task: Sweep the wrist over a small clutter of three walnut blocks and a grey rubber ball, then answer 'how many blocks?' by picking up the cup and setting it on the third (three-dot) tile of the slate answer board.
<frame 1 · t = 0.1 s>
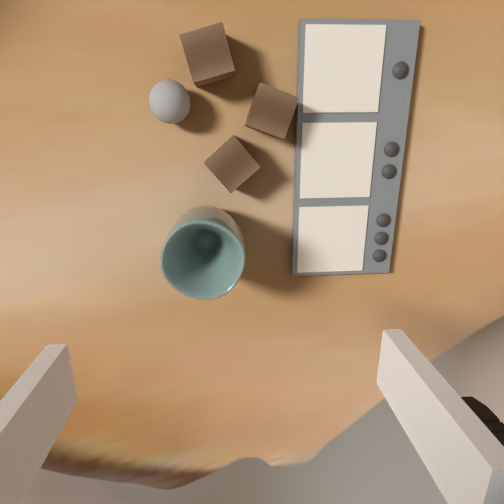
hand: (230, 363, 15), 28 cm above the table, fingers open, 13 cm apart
walnut block c: (231, 161, 40), on the table
cup: (208, 231, 42), on the table
grey ball: (172, 103, 37), on the table
answer board: (347, 160, 40), on the table
walnut block a: (209, 60, 36), on the table
walnut block b: (268, 113, 38), on the table
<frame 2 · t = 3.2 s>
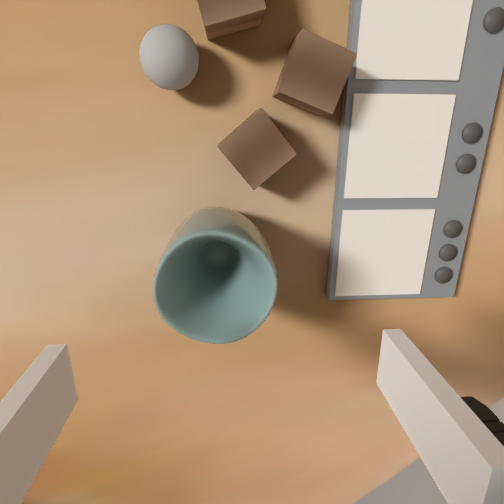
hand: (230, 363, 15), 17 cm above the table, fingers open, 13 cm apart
walnut block c: (253, 147, 29), on the table
cup: (219, 241, 32), on the table
grey ball: (173, 63, 27), on the table
answer board: (409, 147, 30), on the table
walnut block a: (226, 1, 26), on the table
walnut block b: (305, 80, 28), on the table
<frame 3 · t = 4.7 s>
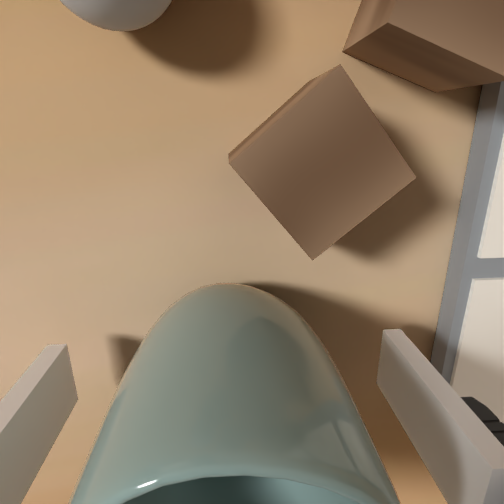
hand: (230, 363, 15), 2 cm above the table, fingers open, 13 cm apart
walnut block c: (299, 159, 14), on the table
cup: (229, 334, 17), on the table
walnut block b: (413, 15, 13), on the table
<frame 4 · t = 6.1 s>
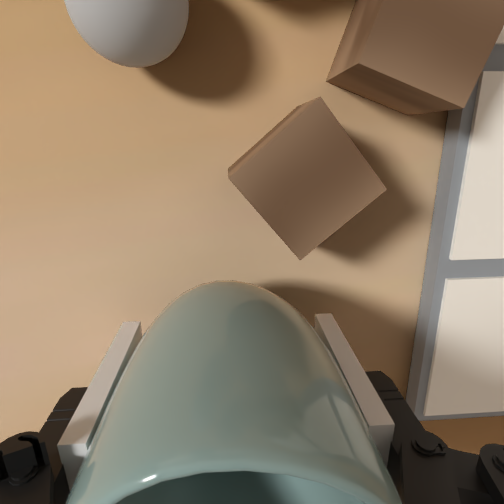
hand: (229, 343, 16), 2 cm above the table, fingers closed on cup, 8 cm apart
walnut block c: (289, 173, 16), on the table
cup: (229, 332, 17), point 1 cm above the table, touching gripper
grey ball: (142, 19, 14), on the table
walnut block b: (386, 50, 15), on the table
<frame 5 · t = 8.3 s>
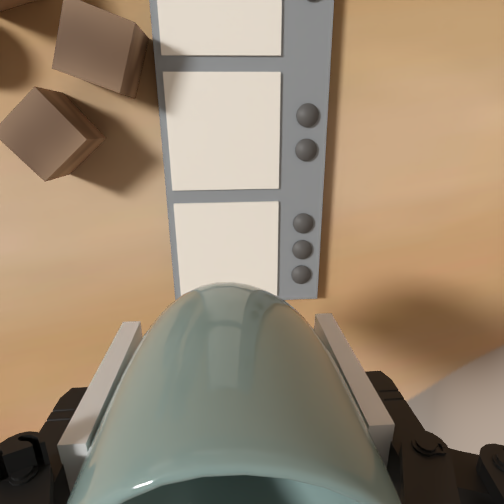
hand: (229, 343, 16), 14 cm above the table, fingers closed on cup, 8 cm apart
walnut block c: (66, 134, 26), on the table
cup: (229, 333, 17), point 14 cm above the table, touching gripper
answer board: (244, 133, 27), on the table
walnut block b: (113, 58, 25), on the table
when the fingers open (3 cm above the table, at t = 10.6 s): cup drops 1 cm, resting on answer board.
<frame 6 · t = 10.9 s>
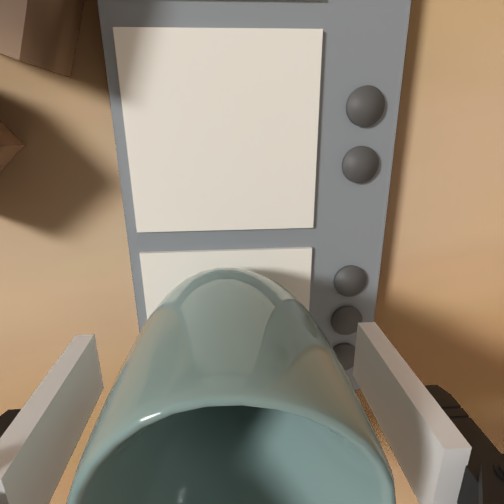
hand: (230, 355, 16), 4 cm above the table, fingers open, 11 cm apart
cup: (229, 319, 18), point 1 cm above the table, touching answer board
answer board: (256, 136, 16), on the table
walnut block b: (28, 6, 14), on the table
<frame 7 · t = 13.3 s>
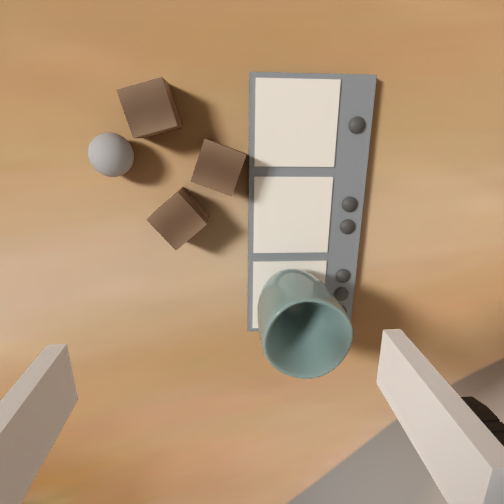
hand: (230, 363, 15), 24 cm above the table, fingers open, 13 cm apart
walnut block c: (182, 213, 38), on the table
cup: (288, 291, 40), point 1 cm above the table, touching answer board
grey ball: (117, 154, 35), on the table
answer board: (304, 213, 38), on the table
walnut block a: (156, 111, 34), on the table
walnut block b: (219, 165, 36), on the table
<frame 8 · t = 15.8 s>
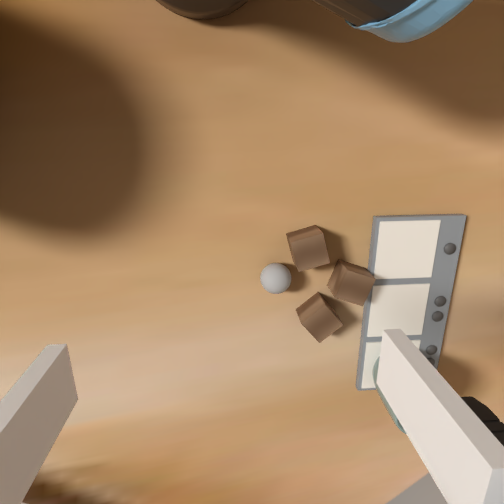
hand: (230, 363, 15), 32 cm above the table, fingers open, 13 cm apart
walnut block c: (315, 309, 51), on the table
cup: (390, 362, 53), point 1 cm above the table, touching answer board
grey ball: (273, 272, 48), on the table
answer board: (404, 306, 51), on the table
walnut block a: (304, 243, 47), on the table
walnut block b: (345, 276, 49), on the table
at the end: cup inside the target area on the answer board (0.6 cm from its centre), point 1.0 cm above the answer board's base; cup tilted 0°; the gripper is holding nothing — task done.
